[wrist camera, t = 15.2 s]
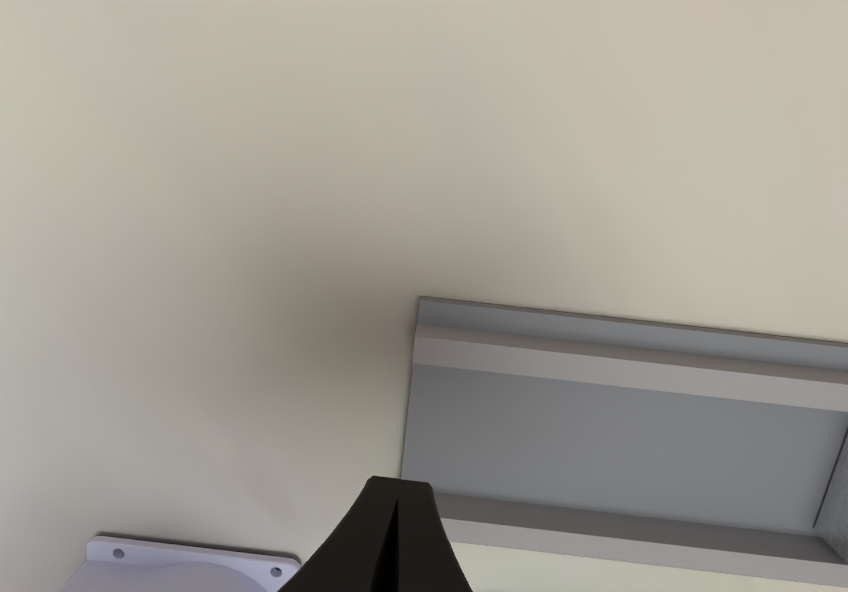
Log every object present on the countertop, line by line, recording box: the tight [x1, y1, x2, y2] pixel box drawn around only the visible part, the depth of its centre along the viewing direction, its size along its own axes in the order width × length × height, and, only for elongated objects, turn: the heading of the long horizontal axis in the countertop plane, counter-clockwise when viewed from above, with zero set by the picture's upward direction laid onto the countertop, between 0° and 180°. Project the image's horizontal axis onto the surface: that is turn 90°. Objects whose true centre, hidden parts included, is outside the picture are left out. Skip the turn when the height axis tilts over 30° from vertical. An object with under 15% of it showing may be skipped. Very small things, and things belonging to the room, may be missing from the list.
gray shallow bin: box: [401, 296, 848, 588], centre depth 19 cm, size 22×10×4 cm, turn 84°
